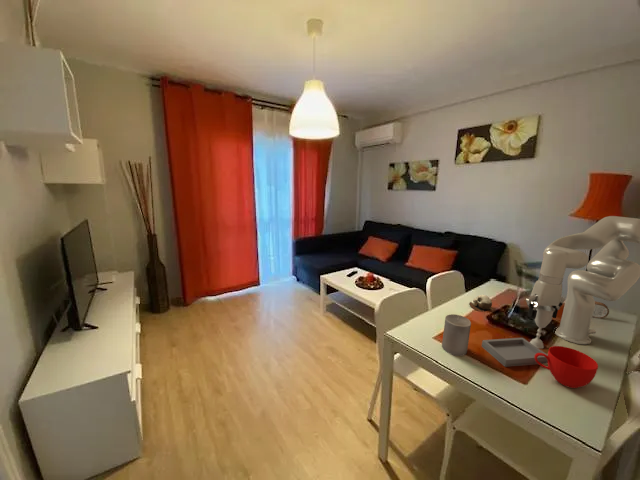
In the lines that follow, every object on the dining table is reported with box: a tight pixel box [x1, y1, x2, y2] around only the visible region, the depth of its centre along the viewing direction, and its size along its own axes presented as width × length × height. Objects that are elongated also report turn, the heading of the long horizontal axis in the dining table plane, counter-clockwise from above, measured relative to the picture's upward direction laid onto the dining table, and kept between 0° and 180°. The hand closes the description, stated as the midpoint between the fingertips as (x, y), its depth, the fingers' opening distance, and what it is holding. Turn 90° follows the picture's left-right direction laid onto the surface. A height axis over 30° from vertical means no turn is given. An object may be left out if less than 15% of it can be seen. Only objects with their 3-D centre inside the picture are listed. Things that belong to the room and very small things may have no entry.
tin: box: [592, 300, 610, 319], centre depth 144 cm, size 15×3×8 cm, turn 58°
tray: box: [481, 337, 548, 368], centre depth 112 cm, size 19×13×3 cm
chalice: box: [529, 304, 555, 349], centre depth 117 cm, size 7×7×18 cm
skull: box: [468, 294, 494, 313], centre depth 153 cm, size 12×10×10 cm
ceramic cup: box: [534, 345, 599, 389], centre depth 97 cm, size 13×17×10 cm
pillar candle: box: [441, 314, 472, 357], centre depth 114 cm, size 10×10×15 cm
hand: (541, 317), depth 116 cm, fingers open, 9 cm apart
